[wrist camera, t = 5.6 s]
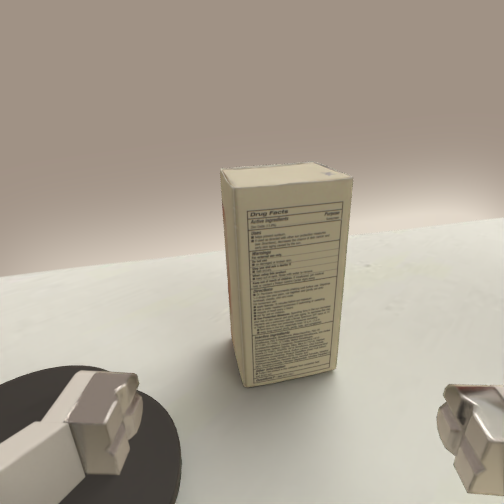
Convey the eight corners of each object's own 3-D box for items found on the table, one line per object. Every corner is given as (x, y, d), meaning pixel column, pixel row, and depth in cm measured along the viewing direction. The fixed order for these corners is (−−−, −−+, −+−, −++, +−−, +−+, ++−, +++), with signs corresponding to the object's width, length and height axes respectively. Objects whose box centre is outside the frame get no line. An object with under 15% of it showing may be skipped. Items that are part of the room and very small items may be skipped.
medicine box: (307, 323, 21) (319, 159, 17) (338, 373, 17) (363, 177, 13) (225, 334, 20) (217, 164, 16) (238, 390, 16) (232, 185, 12)
